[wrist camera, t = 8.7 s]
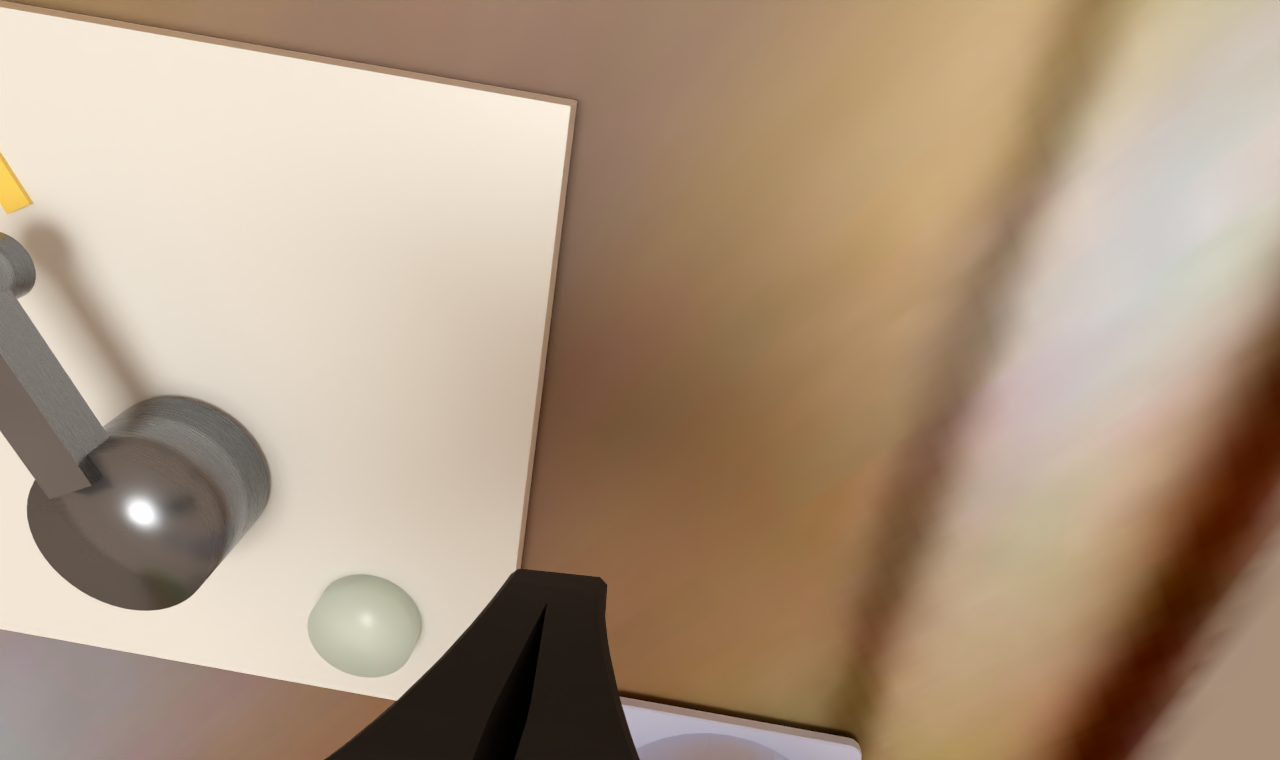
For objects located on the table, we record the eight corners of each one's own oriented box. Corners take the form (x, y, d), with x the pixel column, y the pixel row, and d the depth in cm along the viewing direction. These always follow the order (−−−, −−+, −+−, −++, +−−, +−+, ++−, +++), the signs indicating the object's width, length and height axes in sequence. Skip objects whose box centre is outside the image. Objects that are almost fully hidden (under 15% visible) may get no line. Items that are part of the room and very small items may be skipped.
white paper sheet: (505, 694, 28) (492, 739, 26) (2, 603, 28) (-43, 642, 26) (577, 100, 20) (564, 111, 18) (-114, -20, 20) (-187, -20, 19)
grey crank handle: (298, 517, 24) (236, 596, 21) (164, 557, 25) (86, 638, 22) (98, 185, 21) (-12, 222, 18) (-48, 246, 22) (-177, 291, 18)
